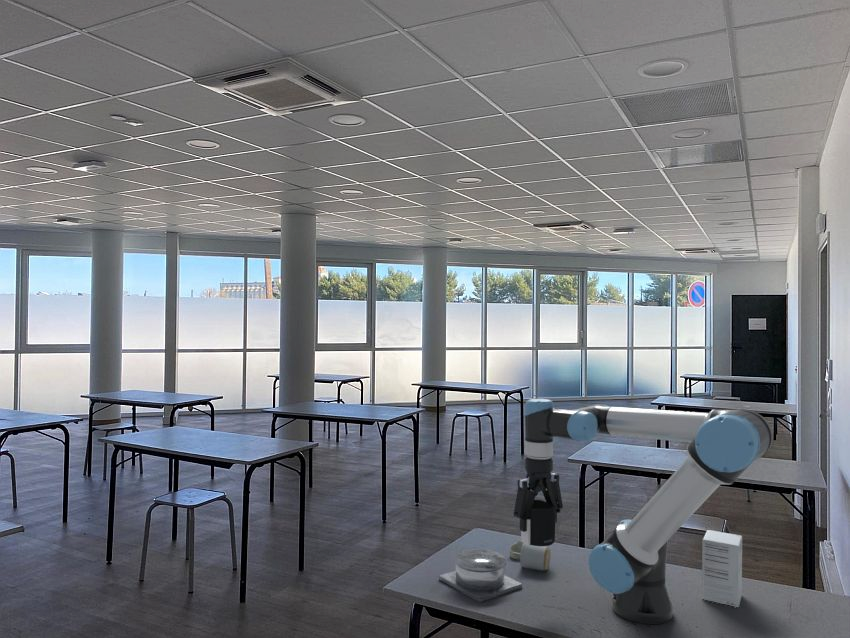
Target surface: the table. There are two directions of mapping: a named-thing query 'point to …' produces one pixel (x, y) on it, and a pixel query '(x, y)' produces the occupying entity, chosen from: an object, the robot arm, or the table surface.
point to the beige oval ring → (516, 550)
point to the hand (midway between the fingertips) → (538, 539)
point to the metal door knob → (480, 575)
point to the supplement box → (722, 567)
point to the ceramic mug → (535, 557)
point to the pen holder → (542, 523)
